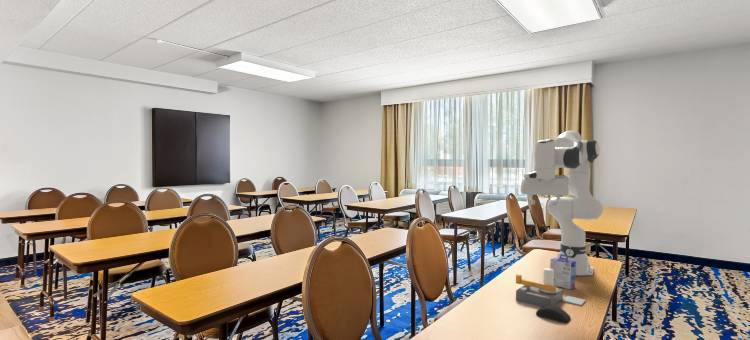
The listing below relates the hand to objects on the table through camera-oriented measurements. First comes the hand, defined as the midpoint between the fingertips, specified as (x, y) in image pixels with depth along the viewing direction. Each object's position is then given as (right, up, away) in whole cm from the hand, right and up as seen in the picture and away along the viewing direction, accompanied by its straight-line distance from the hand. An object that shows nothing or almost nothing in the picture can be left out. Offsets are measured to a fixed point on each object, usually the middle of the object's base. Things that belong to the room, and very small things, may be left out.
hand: (543, 204), depth 175 cm
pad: (+6, -39, -16) cm, 42 cm away
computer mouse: (-10, -40, -31) cm, 52 cm away
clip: (-10, -33, -14) cm, 37 cm away
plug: (-5, -39, -14) cm, 42 cm away
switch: (-8, -39, -13) cm, 42 cm away
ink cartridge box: (+10, -38, +3) cm, 40 cm away
